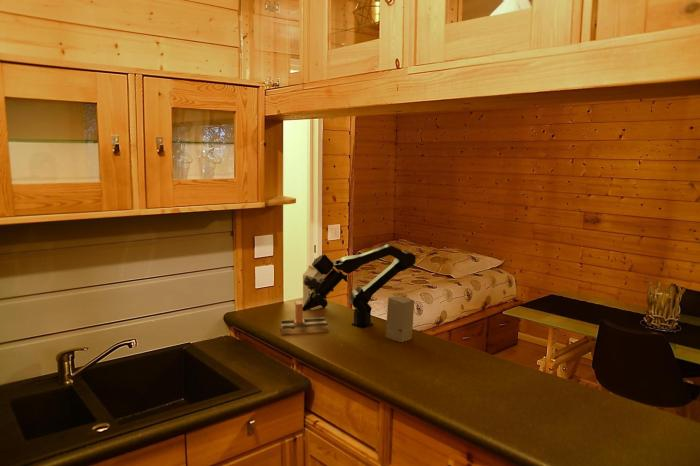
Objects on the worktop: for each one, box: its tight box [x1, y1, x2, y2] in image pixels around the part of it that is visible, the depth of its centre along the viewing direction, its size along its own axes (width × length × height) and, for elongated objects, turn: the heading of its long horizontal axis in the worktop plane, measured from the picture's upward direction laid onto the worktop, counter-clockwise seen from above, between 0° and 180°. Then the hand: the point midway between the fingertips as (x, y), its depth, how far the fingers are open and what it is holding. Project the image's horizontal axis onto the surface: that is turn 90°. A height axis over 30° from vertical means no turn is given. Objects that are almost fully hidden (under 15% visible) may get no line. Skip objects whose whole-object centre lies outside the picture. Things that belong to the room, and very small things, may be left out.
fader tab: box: [293, 300, 305, 324], centre depth 215 cm, size 4×5×9 cm
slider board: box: [280, 317, 329, 335], centre depth 216 cm, size 18×10×3 cm, turn 101°
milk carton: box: [302, 265, 326, 311], centre depth 243 cm, size 7×7×19 cm
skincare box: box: [385, 295, 415, 343], centre depth 204 cm, size 8×7×16 cm
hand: (302, 310), depth 215 cm, fingers closed, pressing on fader tab
